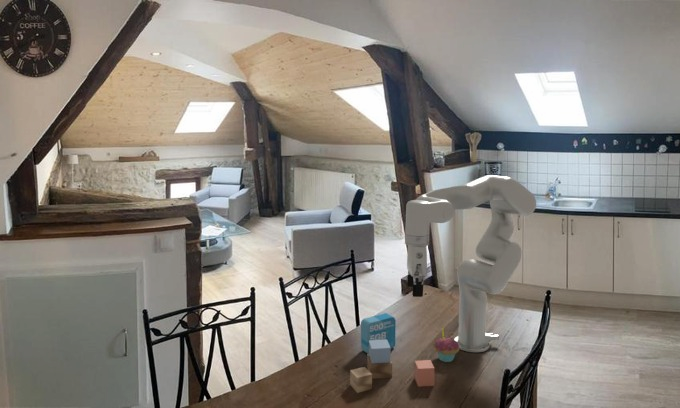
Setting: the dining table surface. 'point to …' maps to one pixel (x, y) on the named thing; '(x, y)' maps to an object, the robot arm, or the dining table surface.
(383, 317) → the data package
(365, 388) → the block
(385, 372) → the tower base
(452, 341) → the cupcake
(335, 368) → the dining table surface
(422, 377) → the salmon orange block
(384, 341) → the tower top
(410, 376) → the dining table surface
